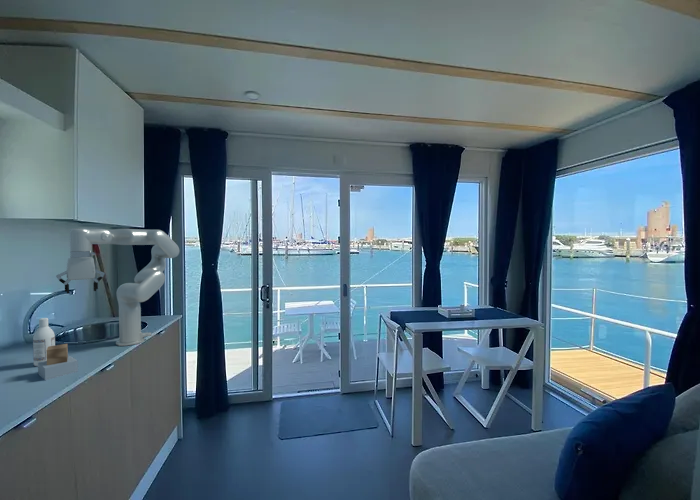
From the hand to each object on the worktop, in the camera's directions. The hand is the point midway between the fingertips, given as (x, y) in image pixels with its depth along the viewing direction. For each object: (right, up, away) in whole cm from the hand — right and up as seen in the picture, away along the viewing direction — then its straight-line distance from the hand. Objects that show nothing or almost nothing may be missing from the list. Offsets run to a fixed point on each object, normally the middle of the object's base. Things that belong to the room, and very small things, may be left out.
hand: (81, 291), depth 149 cm
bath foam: (-10, -31, -8) cm, 33 cm away
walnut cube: (+5, -26, -18) cm, 32 cm away
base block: (+5, -31, -18) cm, 36 cm away
